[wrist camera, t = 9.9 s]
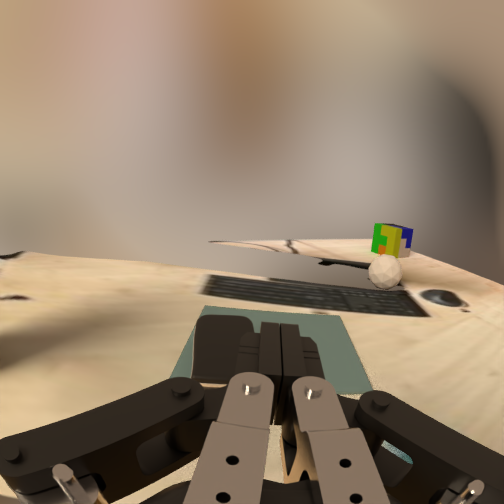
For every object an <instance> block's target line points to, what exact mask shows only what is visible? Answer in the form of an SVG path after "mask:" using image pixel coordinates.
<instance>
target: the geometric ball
mask: <svg viewBox="0 0 504 504" xmlns="http://www.w3.org/2000/svg"><path fill="white" fill-rule="evenodd" d="M369 277H370V280H371V281H372V283H373V284H374V285H375V286H376V287H377V288H381V289H385V290H388V289H390V288H392V287H394V286H397V284H398V283H399V281H400V279H401V277H402V267H401V264H400V262H399V261H398V260H397V259H396V258H395V257H394V256H391V255H386V254H382V255H380V256H378V257H376V258H374V259H373V261H372V263H371V265H370V267H369Z"/></svg>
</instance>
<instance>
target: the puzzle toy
mask: <svg viewBox="0 0 504 504" xmlns="http://www.w3.org/2000/svg"><path fill="white" fill-rule="evenodd" d="M412 234H413V229H410V228H406V227H403V226H398V225H395V224H380V223H375V226H374V235H373V241H372V248H371V251H372V252H374V253H377V254H380V255H382V254H386V255H391V256H394V257H395V258H405V257H409V253H410V247H411V240H412Z"/></svg>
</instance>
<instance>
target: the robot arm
mask: <svg viewBox="0 0 504 504" xmlns="http://www.w3.org/2000/svg"><path fill="white" fill-rule="evenodd" d="M318 352H319V351H318V347H317V344H316V343H315V342H314V341H313V340H312V339H311V338H310V337H302V336H300V331H299V325H298V324H286V323H280V327H279V323H274V322H263V321H261V328H260V333H254V332H247V333H245V334H244V335H243V336H242V337H241V340H240V346H239V351H238V357H237V363H236V368H235V374H234V377H232V378H231V380H230V382H229V384H227V385H226V386H223V387H221V388H216V389H205V390H204V388H203V386H202V385H201V384H200V383H199V382H198V381H196V380H194V379H191V378H187V377H173V378H169V379H167V380H164V381H162V382H160V383H158V384H155V385H153V386H150V387H148V388H146V389H143V390H141V391H138V392H136V393H134V394H131V395H129V396H126V397H124V398H121V399H118V400H116V401H113V402H111V403H108V404H105V405H103V406H100V407H97V408H95V409H92V410H89V411H87V412H84V413H81V414H78V415H75V416H72V417H70V418H67V419H64V420H61V421H58V422H55V423H52V424H48V425H45V426H42V427H39V428H36V429H32V430H29V431H26V432H22V433H19V434H15V435H12V436H8V437H5V438H2V439H0V475H1V476H2V477H3V479H4V480H5V481H6V483H7V485H8V486H9V487H10V488H11V490H12V491H13V492H14V493H15V494H16V495H17V498H18V500H19V502H20V504H110V503H113V502H115V501H117V500H119V499H122V498H124V497H126V496H128V495H130V494H132V493H134V492H136V491H138V490H140V489H142V488H144V487H146V486H148V485H150V484H152V483H154V482H156V481H158V480H160V479H161V478H163V477H165V476H167V475H169V474H170V473H172V472H174V471H176V470H178V469H179V468H181V467H183V466H184V465H186V464H188V463H190V462H191V461H193V460H195V459H196V458H198V457H199V456H200V457H199V460H198V463H197V466H196V469H195V471H194V474H193V477H192V480H190V481H185V482H181V483H178V484H175V485H172V486H170V487H168V488H166V489H164V490H162V491H160V492H158V493H157V494H155V495H153V496H152V497H150V498H148V499H146V500H145V501H143V502H141V503H139V504H504V456H503V455H501V454H499V453H497V452H495V451H493V450H491V449H489V448H487V447H485V446H483V445H481V444H479V443H477V442H475V441H473V440H472V439H470V438H468V437H466V436H464V435H462V434H460V433H458V432H457V431H455V430H453V429H451V428H449V427H447V426H445V425H444V424H442V423H440V422H438V421H436V420H435V419H433V418H431V417H429V416H427V415H426V414H424V413H422V412H420V411H419V410H417V409H415V408H413V407H412V406H410V405H408V404H406V403H405V402H403V401H401V400H400V399H398V398H396V397H394V396H393V395H391V394H389V393H387V392H384V391H378V390H374V391H368V392H366V393H364V394H363V395H362V396H361V397H360V399H359V400H356V399H351V398H347V397H343V396H340V395H338V394H336V391H335V389H334V387H333V385H332V384H331V383H330V382H328V381H327V380H325V376H324V372H323V368H322V363H321V359H320V355H319V353H318ZM273 419H274V425H282V433H281V437H280V451H281V459H282V467H283V476H284V484H283V483H278V482H274V481H270V480H266V479H263V477H264V470H265V463H266V456H267V448H268V441H269V432H270V429H269V425H272V424H273ZM384 440H385V441H387V442H388V443H390V444H391V445H393V446H395V447H396V448H398V449H399V450H401V451H402V452H404V453H406V454H407V455H409V456H410V457H411V459H412V461H413V464H409V463H407V462H406V461H404V460H402V459H401V458H399V457H398V456H396V455H395V454H393V453H391V452H390V451H388V450H387V449H385V448H384V447H382V446H381V445H382V443H383V441H384Z"/></svg>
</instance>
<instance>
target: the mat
mask: <svg viewBox="0 0 504 504" xmlns="http://www.w3.org/2000/svg"><path fill="white" fill-rule="evenodd" d="M209 314H214V315H239V316H245V317H247V318H249V319H250V320H251V321H252V323H253V327H254V332H255V333H260V328H261V321H263V322H274V323H279V327H280V323H286V324H298V325H299V331H300V336H302V337H310V338H311V339H312V340H313V341H314V342H315V343H316V344H317V347H318V351H319V352H318V353H319V355H320V359H321V363H322V368H323V372H324V376H325V380H327V381H328V382H330V383H331V384H332V385H333V387H334V389H335V391H336V394H364V393H366V392H368V391H373V389H372V387H371V384H370V382H369V380H368V377H367V375H366V373H365V371H364V368H363V366H362V364H361V362H360V359H359V357H358V355H357V353H356V351H355V348H354V346H353V344H352V342H351V340H350V338H349V335H348V333H347V331H346V329H345V327H344V325H343V323H342V320H341V318H340V316H337V315H317V314H300V313H285V312H271V311H259V310H247V309H236V308H226V307H216V306H206V305H205V307H204V309H203V311H202V313H201V315H200V317H201V316H203V315H209ZM200 317H199V318H200ZM195 326H196V325H195ZM194 332H195V327H194V329H193V331H192V333H191V335H190V337H189V339H188V341H187V343H186V345H185V347H184V349H183V351H182V354H181V356H180V358H179V360H178V362H177V364H176V366H175V368H174V370H173V372H172V374H171V376H170V378H173V377H187V378H191V372H192V362H193V339H194Z"/></svg>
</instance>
